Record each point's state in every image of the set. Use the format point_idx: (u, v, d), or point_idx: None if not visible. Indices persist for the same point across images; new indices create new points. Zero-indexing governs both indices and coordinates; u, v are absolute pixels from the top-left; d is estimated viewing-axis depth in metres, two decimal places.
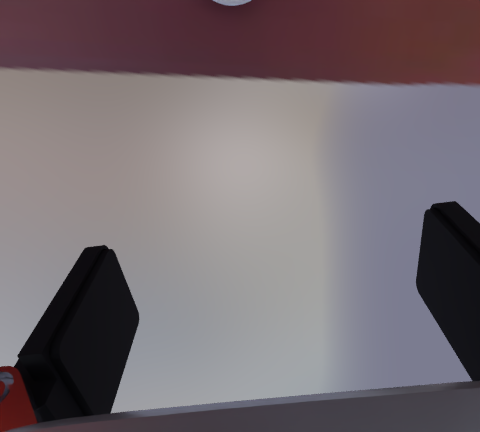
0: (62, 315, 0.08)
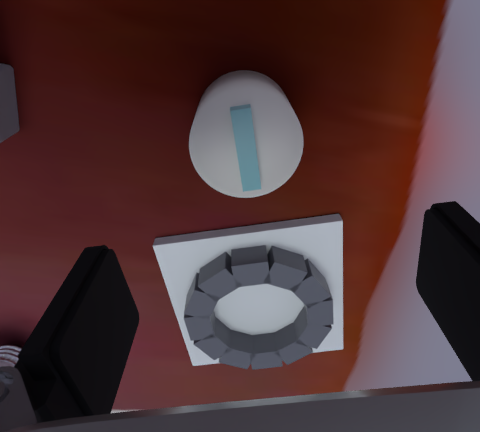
0: (62, 315, 0.08)
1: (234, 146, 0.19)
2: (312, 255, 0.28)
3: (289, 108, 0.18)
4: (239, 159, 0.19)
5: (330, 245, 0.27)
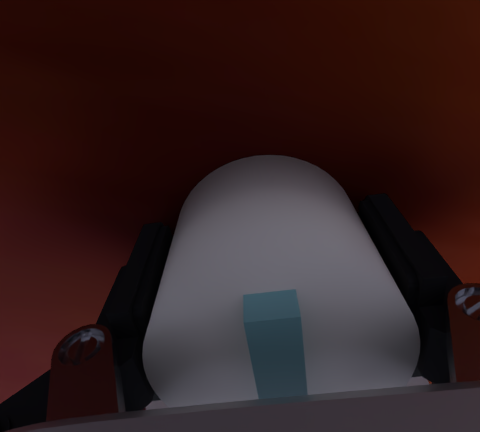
0: (138, 280, 0.09)
1: (251, 365, 0.08)
2: None
3: (396, 297, 0.07)
4: None
5: None
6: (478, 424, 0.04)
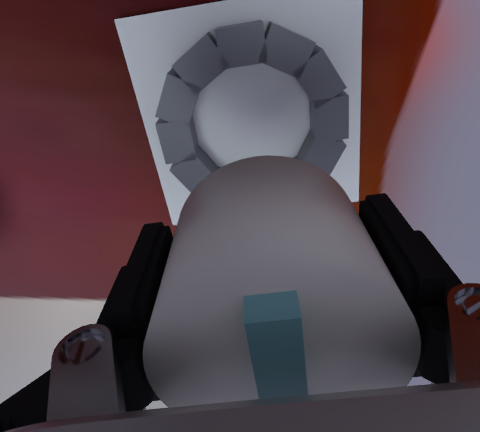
0: (138, 280, 0.09)
1: (252, 366, 0.08)
2: (322, 39, 0.21)
3: (397, 299, 0.07)
4: None
5: (346, 21, 0.21)
6: (478, 424, 0.04)
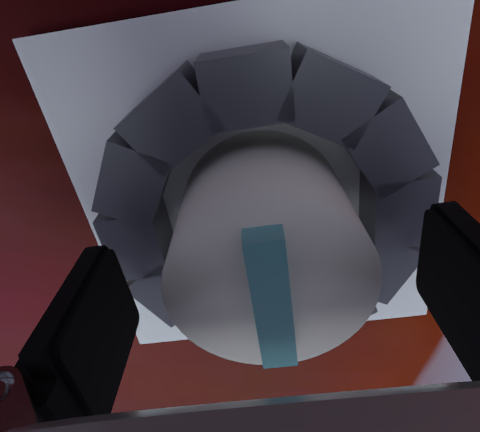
0: (62, 315, 0.08)
1: (248, 291, 0.10)
2: (391, 75, 0.12)
3: (361, 231, 0.09)
4: (258, 322, 0.10)
5: (438, 43, 0.11)
6: (478, 424, 0.04)
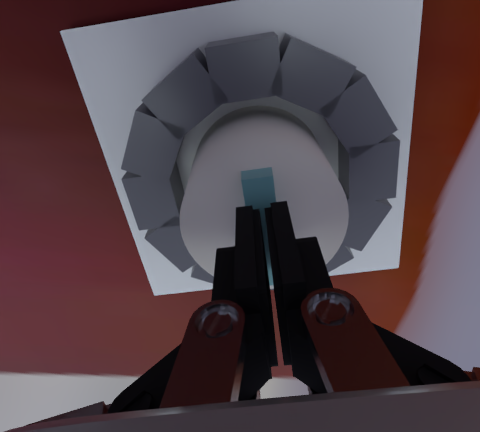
0: (254, 258, 0.09)
1: None
2: (360, 59, 0.15)
3: (330, 173, 0.12)
4: None
5: (396, 34, 0.14)
6: (478, 424, 0.04)
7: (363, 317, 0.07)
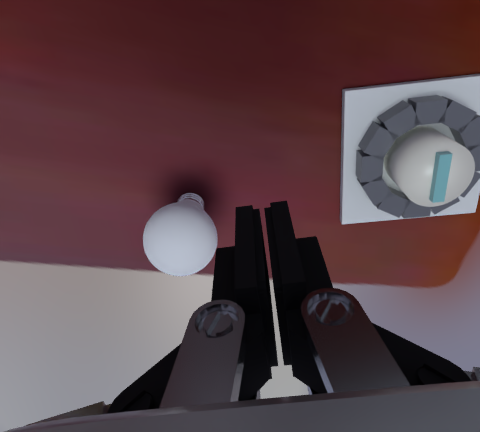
0: (254, 258, 0.09)
1: (431, 175, 0.32)
2: (472, 108, 0.34)
3: (470, 154, 0.31)
4: (436, 183, 0.31)
5: None
6: (478, 424, 0.04)
7: (363, 317, 0.07)
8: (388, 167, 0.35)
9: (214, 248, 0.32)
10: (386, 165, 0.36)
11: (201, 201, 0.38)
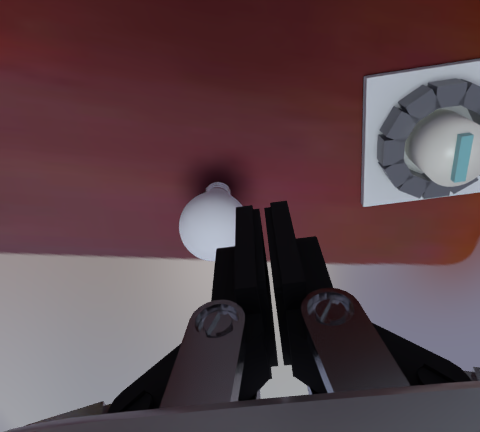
0: (254, 258, 0.09)
1: (452, 156, 0.33)
2: None
3: None
4: (458, 163, 0.33)
5: None
6: (478, 424, 0.04)
7: (363, 317, 0.07)
8: (409, 150, 0.37)
9: None
10: (407, 148, 0.37)
11: (228, 189, 0.40)
